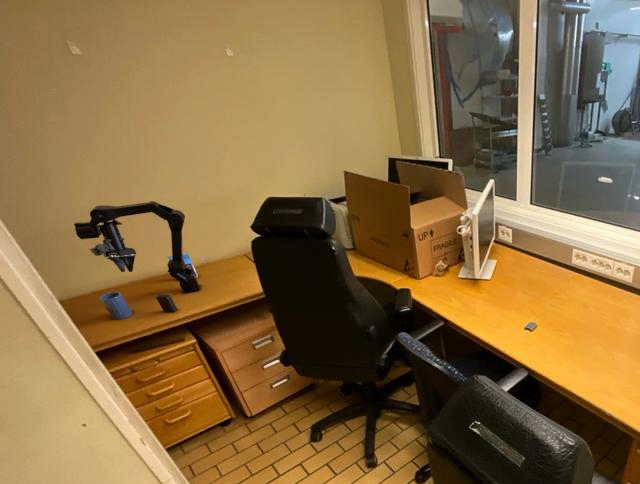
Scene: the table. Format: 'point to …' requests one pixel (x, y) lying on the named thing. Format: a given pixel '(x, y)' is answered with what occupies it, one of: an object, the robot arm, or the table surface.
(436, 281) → the table surface
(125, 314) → the pen cup
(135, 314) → the table surface
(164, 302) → the ink cartridge
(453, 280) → the table surface
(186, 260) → the tape cartridge
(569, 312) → the table surface
